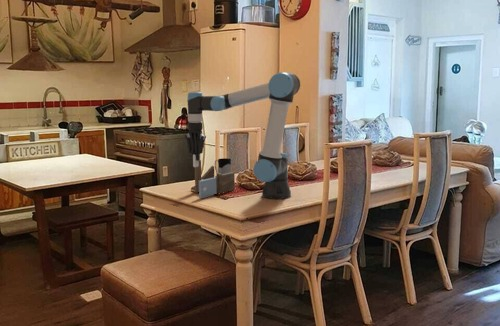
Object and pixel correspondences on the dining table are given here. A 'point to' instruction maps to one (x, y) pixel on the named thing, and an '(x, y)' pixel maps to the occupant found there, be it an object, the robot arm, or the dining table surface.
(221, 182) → the notched wooden plank
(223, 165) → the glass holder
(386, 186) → the dining table surface
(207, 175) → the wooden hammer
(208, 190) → the door
